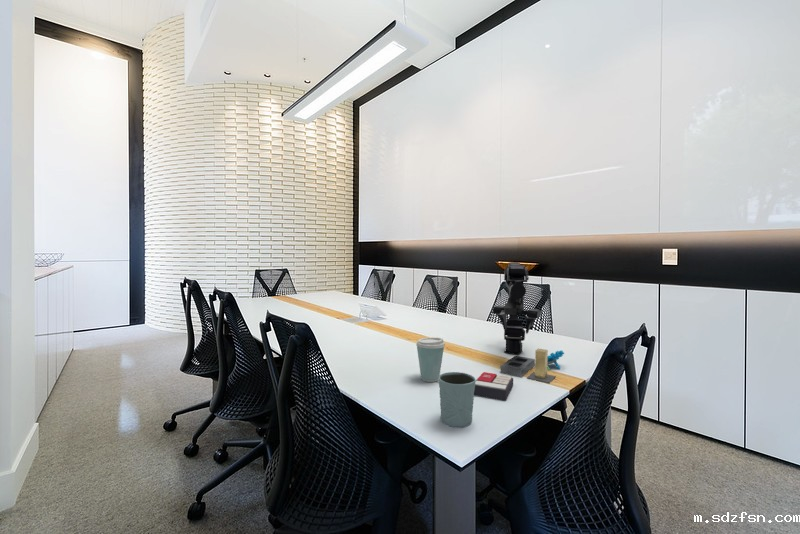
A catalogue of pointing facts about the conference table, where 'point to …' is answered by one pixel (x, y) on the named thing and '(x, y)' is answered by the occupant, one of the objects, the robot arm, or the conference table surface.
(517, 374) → the grey cinder block
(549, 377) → the rubber pad
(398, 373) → the conference table surface
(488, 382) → the calculator
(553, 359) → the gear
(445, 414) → the green tumbler cup
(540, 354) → the brass peg
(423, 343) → the disposable coffee cup
